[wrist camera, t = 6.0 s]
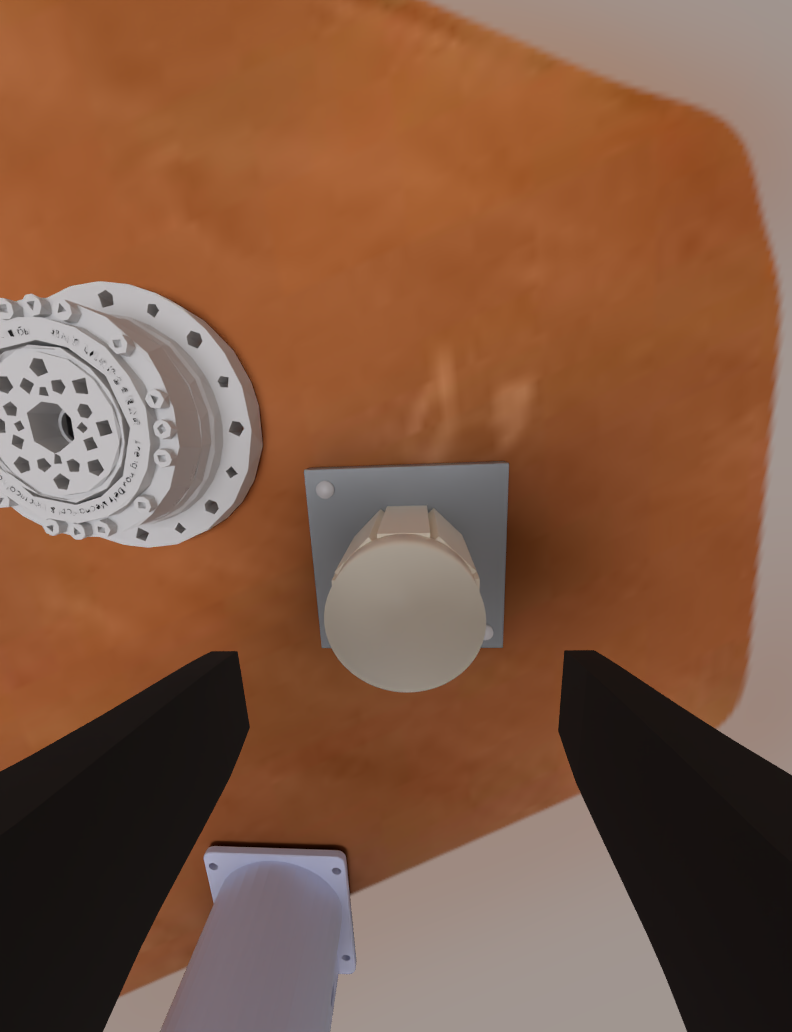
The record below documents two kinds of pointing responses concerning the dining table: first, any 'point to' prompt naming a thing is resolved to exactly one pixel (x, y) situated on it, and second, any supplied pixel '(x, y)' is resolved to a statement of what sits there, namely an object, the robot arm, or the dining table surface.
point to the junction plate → (443, 486)
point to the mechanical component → (122, 416)
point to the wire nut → (406, 602)
